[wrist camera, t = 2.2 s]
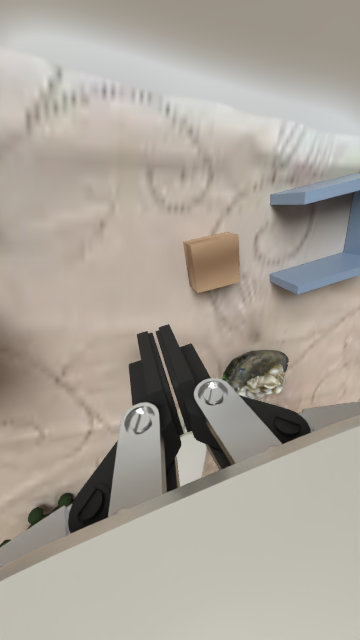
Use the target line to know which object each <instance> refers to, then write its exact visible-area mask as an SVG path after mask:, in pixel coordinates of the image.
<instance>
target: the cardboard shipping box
mask: <svg viewBox="0 0 360 640" xmlns="http://www.w3.org/2000/svg"><path fill="white" fill-rule="evenodd" d="M183 244H184V251H185V257H186V264H187V270H188V277H189V283H190V286H191V287H192V288H193V289H194V290H195V291H196V293H200V292H204V291H208V290H212V289H216V288H219V287H223V286H227V285H231V284H235V283H238V282H240V273H239V241H238V235H236V234H232V233H228V232H224V233H220V234H216V235H211V236H207V237H202V238H198V239H193V240H189V241H185V242H183Z"/></svg>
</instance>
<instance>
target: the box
mask: <svg viewBox="0 0 360 640" xmlns="http://www.w3.org/2000/svg"><path fill="white" fill-rule="evenodd" d="M351 192H354V195H353V201H352V206H351V212H350V218H349V223H348V229H347V235H346V240H345V246H344V252H342V253H339V254H336V255H332V256H329V257H326V258H322V259H319V260H316V261H312V262H309V263H306V264H302V265H299V266H296V267H292V268H289V269H286V270H282V271H279V272H276V273H272V274H270V282H272V283H274V284H276V285H278V286H280V287H282V288H284V289H286V290H288V291H291V292H293V293H295V294H297V295H298V294H301V293H305V292H308V291H311V290H314V289H317V288H320V287H323V286H327V285H330V284H333V283H336V282H339V281H342V280H345V279H349V278H352V277H355V276H358V275H360V172H359V173H355V174H351V175H347V176H343V177H339V178H335V179H331V180H327V181H323V182H319V183H315V184H311V185H307V186H303V187H299V188H295V189H291V190H287V191H283V192H279V193H275V194H271V205H305V204H309V203H313V202H316V201H320V200H324V199H328V198H332V197H336V196H339V195H343V194H347V193H351Z"/></svg>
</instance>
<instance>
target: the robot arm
mask: <svg viewBox="0 0 360 640" xmlns="http://www.w3.org/2000/svg"><path fill="white" fill-rule="evenodd" d="M156 335H157V338H158V341H159V344H160V348H161V351H162V354H163V357H164V361H165V364H166V367H167V370H168V373H169V377H170V380H171V383H172V386H173V389H174V392H175V395H176V398H177V401H178V404H179V407H180V410H181V414H182V417H183V420H184V423H185V426H186V429H187V432H190V431H192V432H193V435H194V437H195V438H196V440H198V441H200V442H202V443H205V444H206V446H207V449H208V450H209V452H210V454H211V456H212V458H213V459H214V461H215V463H216V465H217V466H218V468H219V471H217V472H215V473H212V474H210V475H207V476H205V477H203V478H200V479H198V480H196V481H193V482H191V483H188V484H186V485H184V486H182V487H180V484H179V474H178V464H177V458H176V455H177V453H178V451H179V449H180V447H181V440H180V437H179V435H182V434H184V433H183V430H182V426H181V423H180V420H179V417H178V413H177V410H176V407H175V403H174V400H173V397H172V394H171V390H170V387H169V384H168V381H167V377H166V374H165V371H164V368H163V365H162V361H161V358H160V355H159V352H158V349H157V346H156V343H155V340H154V336H153V333H149V334H148V332H147V331H146V332H143V333H140V334H137V338H138V344H139V349H140V355H141V360H140V361H137V362H134V363H131V364H129V373H130V383H131V394H132V404H133V406H132V407H131V408H129V409H128V410H127V411H126V412H125V414H124V415H123V417H122V419H121V423H120V429H119V436H118V441H117V442H116V443H115V445H114V446H113V448H112V449H111V450H110V452H109V453H108V454H107V456H106V457H105V458H104V460H103V461H102V462H101V464H100V465H99V466H98V468H97V469H96V470H95V472H94V473H93V474H92V476H91V477H90V478H89V480H88V481H87V483H86V484H85V485H84V487H83V488H82V489H81V491H80V492H79V493H78V495H77V496H76V498H75V500H74V501H73V503H72V504H71V505H69V506H68V507H65V506H62V507H61V508H59V509H58V510H56V511H55V512H53V513H52V514H50V515H49V516H47V517H46V518H44V519H43V520H41V521H40V522H38V523H37V524H35V525H33V526H32V527H30V528H29V529H27V530H26V531H24V532H23V533H21V534H20V535H18V536H17V537H15V538H14V539H12V540H11V541H9V542H8V543H6V544H5V545H3V546H2V547H0V640H360V402H351V403H344V404H337V405H330V406H323V407H316V408H309V409H302V412H301V413H296V412H294V411H291V410H289V409H285V408H282V407H278V406H275V405H272V404H268V403H265V402H261V401H258V400H254V399H251V398H248V397H244V396H241V395H238V394H237V393H236V392H235V390H234V389H233V388H232V387H231V386H230V385H229V384H228V383H227V382H226V381H224V380H222V379H218V378H210V376H209V374H208V372H207V370H206V369H205V367H204V365H203V363H202V361H201V360H200V358H199V356H198V354H197V352H196V351H195V349H194V347H193V345H192V344H188V345H185V346H182V347H179V345H178V343H177V341H176V339H175V336H174V334H173V332H172V330H171V328H170V326H169V324H168V325H165V326H162V327H159V331H156Z"/></svg>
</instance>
